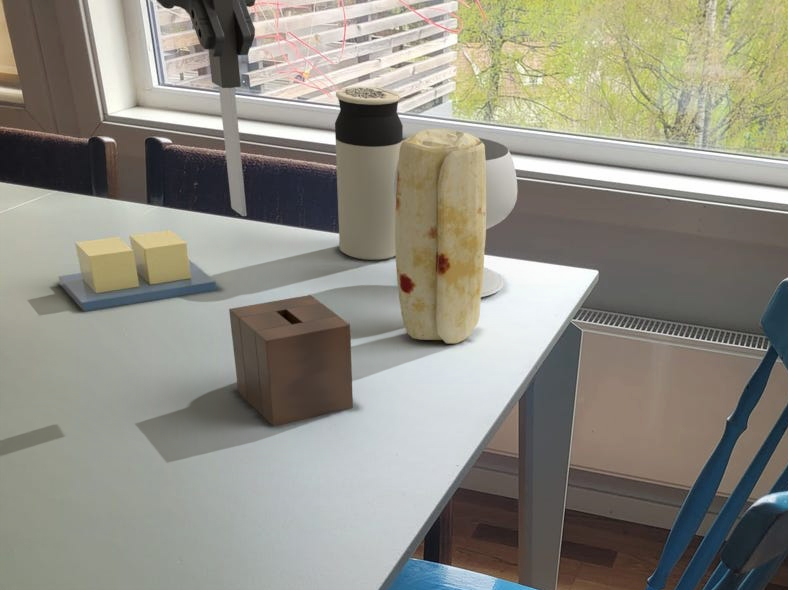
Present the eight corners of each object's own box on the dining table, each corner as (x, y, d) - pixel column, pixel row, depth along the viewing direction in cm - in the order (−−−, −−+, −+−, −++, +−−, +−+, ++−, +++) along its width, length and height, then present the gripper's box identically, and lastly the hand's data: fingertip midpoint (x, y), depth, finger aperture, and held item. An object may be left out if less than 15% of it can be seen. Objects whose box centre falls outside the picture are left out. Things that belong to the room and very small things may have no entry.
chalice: (392, 263, 124) (391, 130, 114) (503, 264, 125) (511, 134, 116) (396, 304, 113) (395, 162, 103) (517, 306, 114) (528, 166, 105)
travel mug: (353, 264, 122) (349, 101, 111) (330, 244, 128) (323, 87, 117) (412, 257, 126) (413, 98, 114) (387, 238, 131) (386, 84, 120)
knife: (236, 217, 87) (212, -15, 76) (224, 209, 88) (200, -19, 78) (253, 215, 87) (232, -15, 77) (241, 207, 89) (219, -20, 78)
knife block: (273, 427, 89) (265, 340, 84) (238, 392, 94) (228, 308, 89) (353, 408, 92) (350, 324, 87) (315, 375, 97) (310, 294, 92)
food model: (464, 318, 111) (472, 120, 98) (494, 340, 106) (506, 136, 94) (385, 331, 107) (382, 127, 94) (412, 355, 102) (413, 143, 90)
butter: (83, 311, 107) (74, 264, 104) (60, 285, 113) (50, 239, 109) (216, 290, 114) (211, 245, 111) (187, 265, 119) (182, 222, 116)
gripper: (69, -206, 72) (153, 18, 72) (247, -194, 78) (324, 12, 78) (65, -119, 79) (141, 86, 79) (229, -114, 85) (300, 75, 85)
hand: (232, 48), depth 78 cm, fingers closed on knife, 1 cm apart
